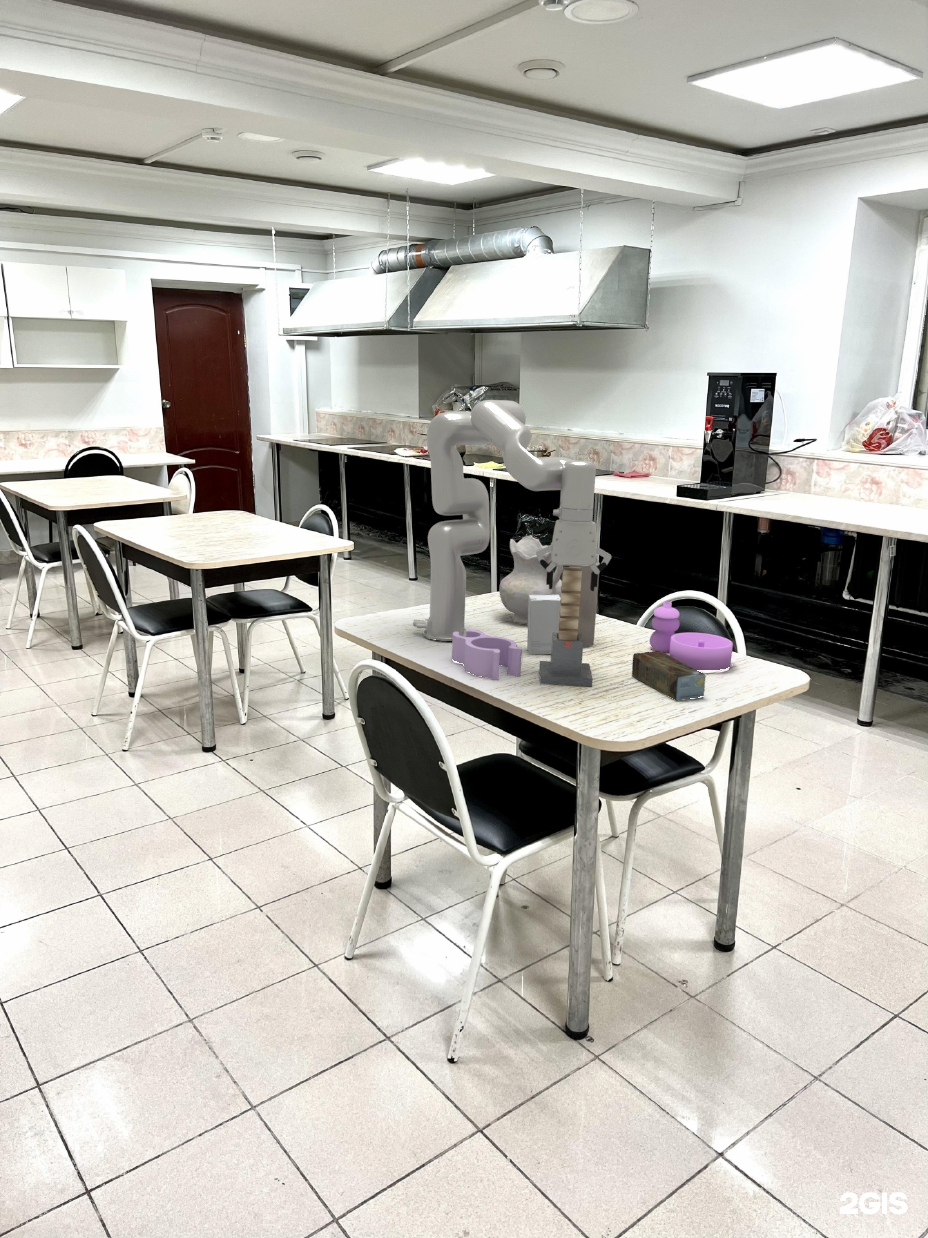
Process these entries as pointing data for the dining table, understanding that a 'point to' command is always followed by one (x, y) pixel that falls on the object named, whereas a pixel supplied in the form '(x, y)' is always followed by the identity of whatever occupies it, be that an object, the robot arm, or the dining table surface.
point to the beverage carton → (668, 675)
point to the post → (569, 603)
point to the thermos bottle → (587, 606)
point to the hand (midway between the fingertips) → (571, 588)
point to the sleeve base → (566, 664)
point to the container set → (688, 642)
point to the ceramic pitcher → (527, 578)
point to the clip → (486, 654)
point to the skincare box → (542, 622)
